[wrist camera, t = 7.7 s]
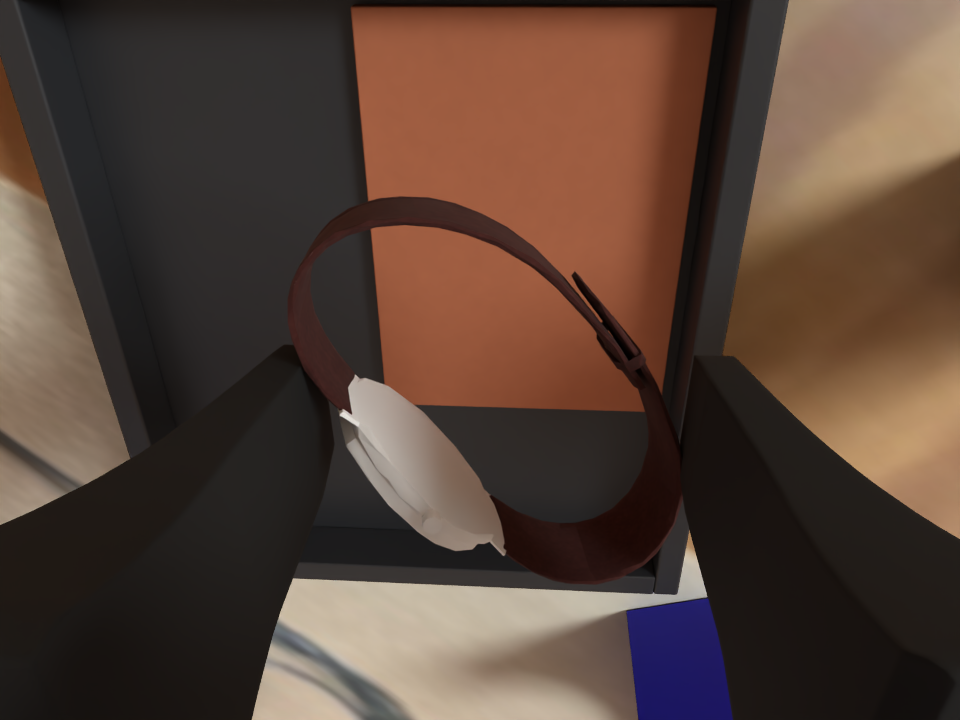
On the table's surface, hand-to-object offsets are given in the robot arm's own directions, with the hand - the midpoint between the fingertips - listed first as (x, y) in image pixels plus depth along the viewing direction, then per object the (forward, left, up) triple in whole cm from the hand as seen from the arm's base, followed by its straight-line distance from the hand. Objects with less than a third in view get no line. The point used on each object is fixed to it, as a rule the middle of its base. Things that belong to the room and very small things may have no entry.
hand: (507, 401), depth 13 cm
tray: (-3, -2, -7) cm, 8 cm away
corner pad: (0, 0, -7) cm, 7 cm away
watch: (0, 0, -2) cm, 2 cm away
